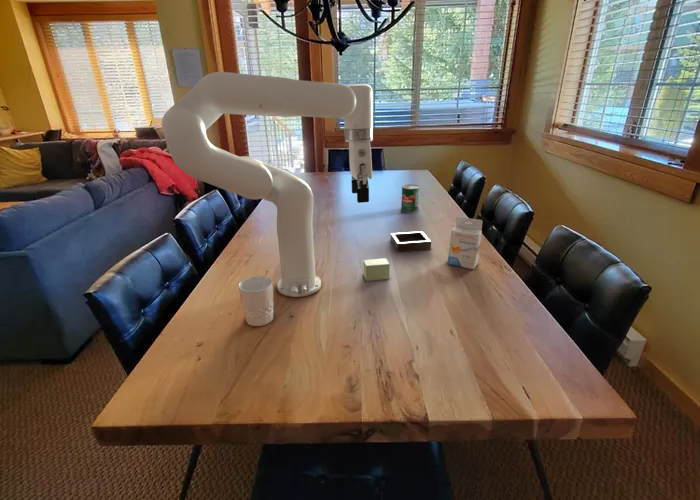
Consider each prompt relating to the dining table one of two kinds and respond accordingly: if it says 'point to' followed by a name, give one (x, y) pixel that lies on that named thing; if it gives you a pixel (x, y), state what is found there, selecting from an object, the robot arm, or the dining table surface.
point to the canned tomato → (410, 198)
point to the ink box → (465, 243)
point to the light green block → (376, 269)
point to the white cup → (257, 300)
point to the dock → (410, 241)
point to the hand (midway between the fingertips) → (360, 197)
